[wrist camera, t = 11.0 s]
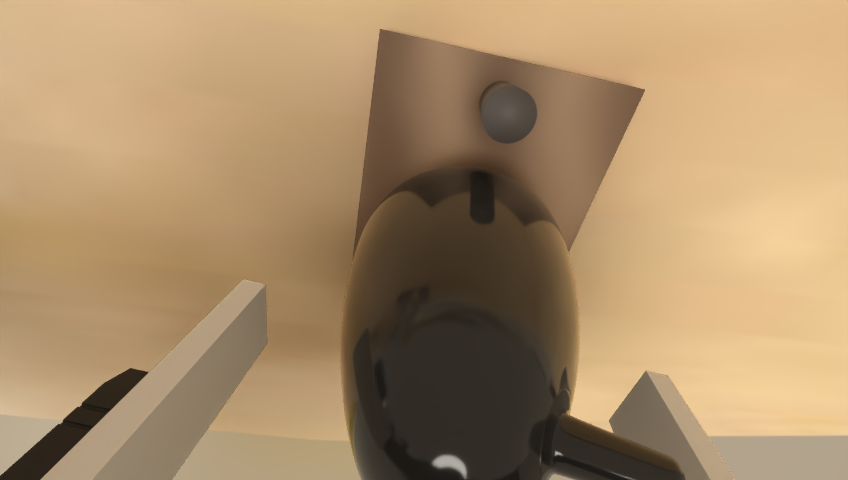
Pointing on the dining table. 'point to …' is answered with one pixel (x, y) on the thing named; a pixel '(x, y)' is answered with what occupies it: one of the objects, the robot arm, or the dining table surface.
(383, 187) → the holder
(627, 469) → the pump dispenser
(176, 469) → the robot arm
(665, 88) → the dining table surface
